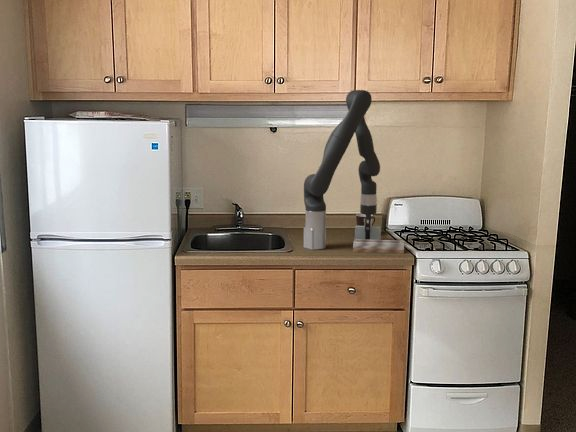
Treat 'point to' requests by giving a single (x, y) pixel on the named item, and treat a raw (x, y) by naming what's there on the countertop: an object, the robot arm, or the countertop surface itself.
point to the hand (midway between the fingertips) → (367, 238)
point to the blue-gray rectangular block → (374, 233)
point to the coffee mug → (362, 219)
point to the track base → (378, 246)
